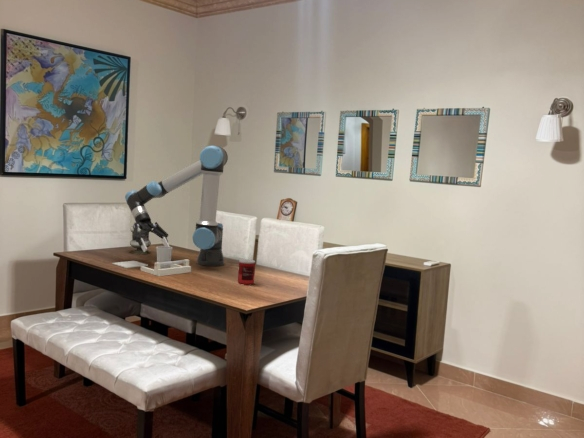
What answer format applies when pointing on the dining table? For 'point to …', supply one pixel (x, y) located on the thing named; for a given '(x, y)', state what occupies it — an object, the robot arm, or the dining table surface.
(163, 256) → the cup
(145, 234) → the apothecary jar
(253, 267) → the canned food
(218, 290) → the dining table surface
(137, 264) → the mat
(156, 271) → the dispenser bay
